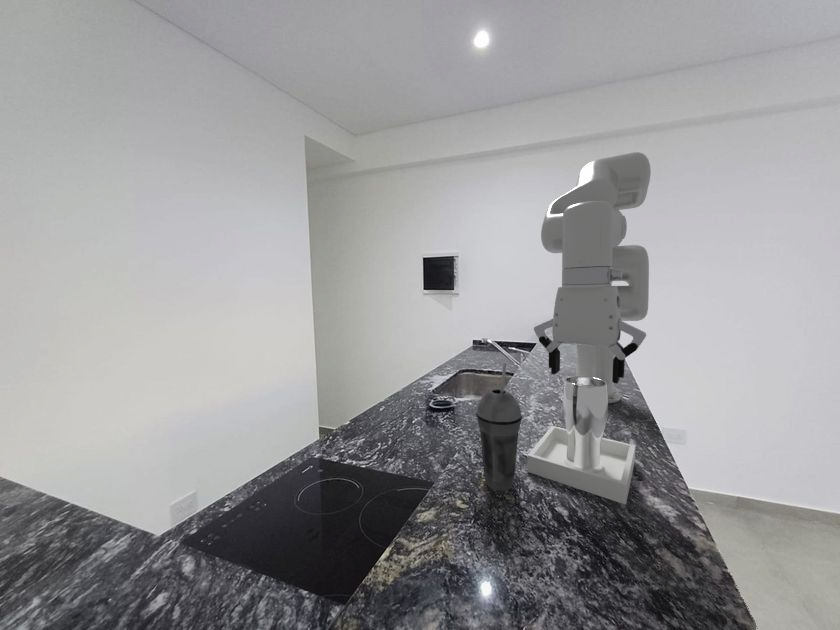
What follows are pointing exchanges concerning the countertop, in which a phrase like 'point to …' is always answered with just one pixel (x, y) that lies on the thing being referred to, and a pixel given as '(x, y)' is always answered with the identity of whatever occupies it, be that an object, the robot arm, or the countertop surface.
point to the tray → (605, 483)
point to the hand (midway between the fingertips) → (584, 376)
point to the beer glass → (585, 421)
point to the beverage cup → (499, 435)
